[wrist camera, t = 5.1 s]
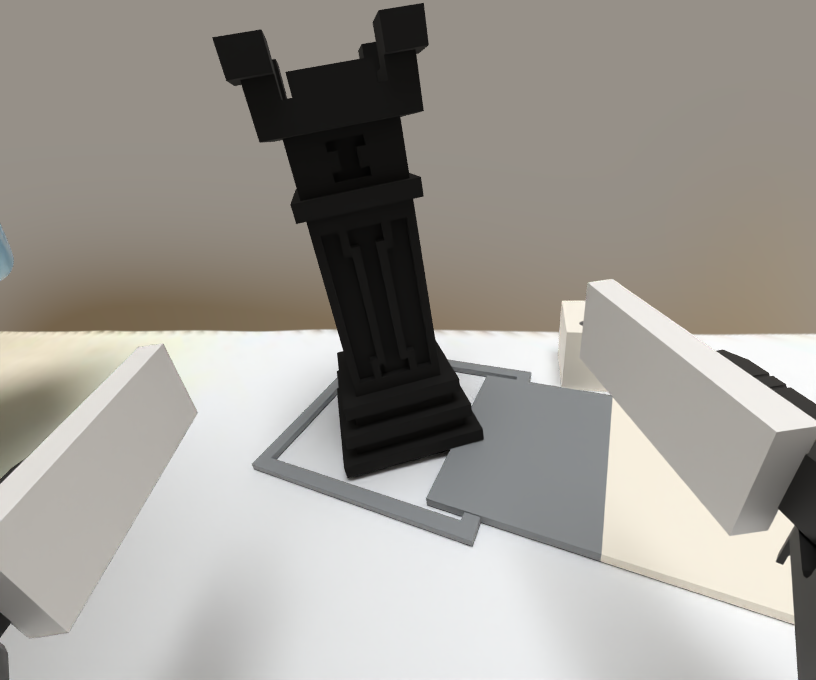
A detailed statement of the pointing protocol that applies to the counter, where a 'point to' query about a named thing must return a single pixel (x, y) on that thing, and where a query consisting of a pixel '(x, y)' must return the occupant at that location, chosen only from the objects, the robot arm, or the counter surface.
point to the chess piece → (364, 233)
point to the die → (574, 350)
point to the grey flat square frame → (366, 498)
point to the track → (604, 496)
